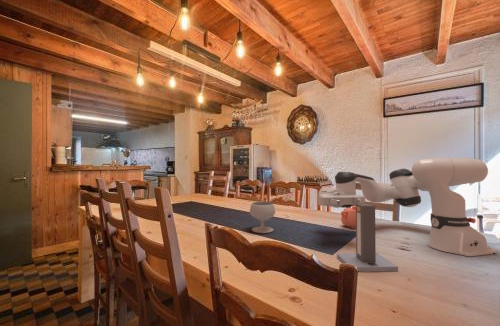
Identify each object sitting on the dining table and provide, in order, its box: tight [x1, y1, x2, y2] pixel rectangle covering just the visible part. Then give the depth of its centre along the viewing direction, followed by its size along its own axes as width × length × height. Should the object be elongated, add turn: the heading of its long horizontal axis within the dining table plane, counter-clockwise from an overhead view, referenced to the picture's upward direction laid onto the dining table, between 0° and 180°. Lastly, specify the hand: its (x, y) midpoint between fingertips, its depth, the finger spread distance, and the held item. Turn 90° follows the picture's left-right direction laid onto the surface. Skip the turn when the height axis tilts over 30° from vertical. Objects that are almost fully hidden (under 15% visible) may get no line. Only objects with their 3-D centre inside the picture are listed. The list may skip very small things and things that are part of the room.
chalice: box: [249, 201, 276, 234], centre depth 126 cm, size 14×14×15 cm
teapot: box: [340, 205, 356, 230], centre depth 133 cm, size 20×12×12 cm, turn 109°
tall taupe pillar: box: [355, 203, 377, 263], centre depth 83 cm, size 5×5×20 cm
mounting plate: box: [336, 252, 399, 273], centre depth 83 cm, size 16×12×2 cm
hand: (348, 202), depth 97 cm, fingers open, 8 cm apart
